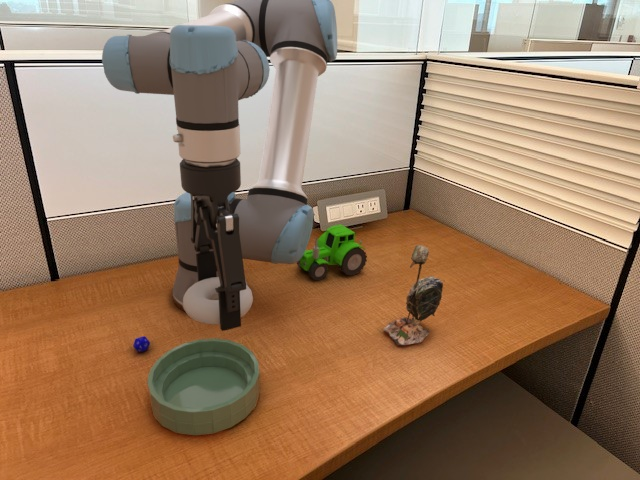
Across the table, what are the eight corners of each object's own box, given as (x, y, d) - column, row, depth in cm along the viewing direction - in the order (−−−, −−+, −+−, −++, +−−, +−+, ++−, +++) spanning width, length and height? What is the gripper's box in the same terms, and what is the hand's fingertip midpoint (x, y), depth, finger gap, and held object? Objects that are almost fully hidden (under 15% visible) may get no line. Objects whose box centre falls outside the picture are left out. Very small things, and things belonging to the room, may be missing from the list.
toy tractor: (288, 267, 115) (289, 229, 110) (343, 252, 123) (346, 216, 119) (313, 287, 106) (315, 247, 102) (370, 270, 115) (374, 232, 110)
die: (143, 357, 83) (131, 346, 82) (140, 354, 85) (127, 343, 84) (155, 345, 84) (143, 334, 83) (151, 342, 86) (139, 331, 85)
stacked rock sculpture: (448, 340, 91) (465, 245, 82) (394, 350, 87) (406, 252, 79) (426, 316, 98) (440, 226, 89) (375, 325, 94) (385, 232, 86)
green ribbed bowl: (142, 379, 78) (139, 354, 76) (239, 352, 85) (238, 329, 83) (163, 454, 65) (159, 427, 63) (275, 415, 72) (275, 389, 70)
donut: (221, 338, 64) (267, 304, 72) (219, 317, 62) (266, 284, 70) (168, 314, 68) (217, 284, 76) (166, 294, 67) (215, 265, 75)
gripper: (160, 141, 68) (174, 278, 77) (206, 189, 50) (217, 360, 59) (212, 137, 71) (219, 269, 80) (272, 180, 53) (273, 344, 63)
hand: (218, 308), depth 70 cm, fingers closed on donut, 10 cm apart
